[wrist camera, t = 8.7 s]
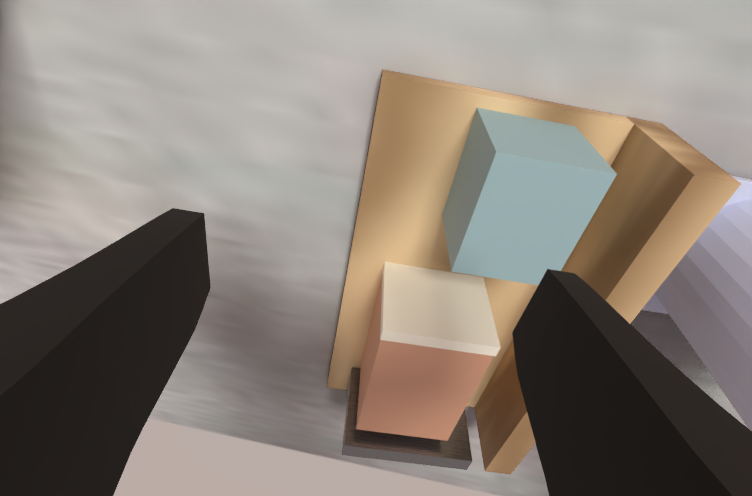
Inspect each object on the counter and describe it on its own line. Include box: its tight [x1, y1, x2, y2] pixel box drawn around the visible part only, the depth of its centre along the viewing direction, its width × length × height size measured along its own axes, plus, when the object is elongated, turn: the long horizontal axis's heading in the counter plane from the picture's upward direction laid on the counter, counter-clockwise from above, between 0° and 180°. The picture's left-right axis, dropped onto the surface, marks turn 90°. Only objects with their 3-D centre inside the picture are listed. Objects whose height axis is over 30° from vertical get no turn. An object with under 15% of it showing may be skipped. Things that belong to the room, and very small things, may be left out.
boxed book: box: [356, 262, 501, 441], centre depth 22 cm, size 5×8×4 cm, turn 170°
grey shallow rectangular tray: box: [342, 367, 472, 470], centre depth 26 cm, size 7×2×5 cm, turn 80°
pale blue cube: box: [442, 108, 617, 285], centre depth 17 cm, size 4×5×4 cm
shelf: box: [327, 70, 741, 474], centre depth 21 cm, size 12×20×5 cm, turn 170°
